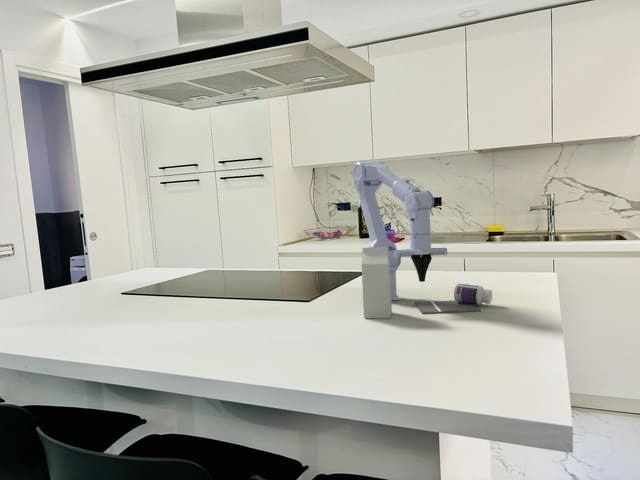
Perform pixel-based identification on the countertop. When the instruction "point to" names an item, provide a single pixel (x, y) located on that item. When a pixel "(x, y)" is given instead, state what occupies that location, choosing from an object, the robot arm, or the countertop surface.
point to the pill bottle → (472, 294)
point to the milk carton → (376, 282)
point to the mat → (445, 307)
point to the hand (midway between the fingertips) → (421, 281)
